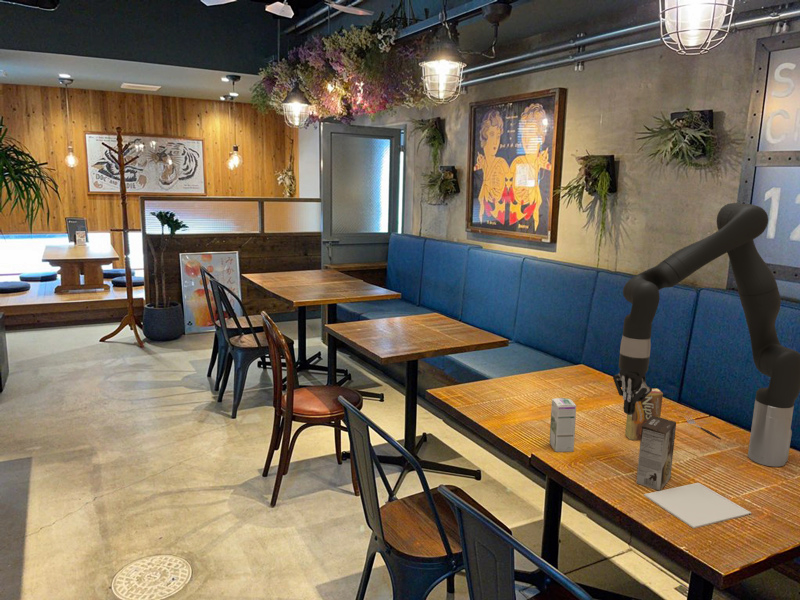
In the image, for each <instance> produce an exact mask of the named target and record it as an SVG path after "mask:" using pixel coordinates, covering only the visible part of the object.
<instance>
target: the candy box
mask: <svg viewBox="0 0 800 600" xmlns="http://www.w3.org/2000/svg"><path fill="white" fill-rule="evenodd" d="M633 395H634V394H633ZM663 395H664V393H663V392H662V391H661V389H659V388H652V391H651V392H650V393H649V394H648V395H647V396H646V397H645V398H644V399H643V400H642V401H639V402H636V404H635V412H634V413H633V414H631V415H628V414H626V422H625V429H624V430H625V432H624V434H625V437H627V438H628V439H629V440H630V441H634V440H635V441H641V430H642V425H643V424H644V423H645V422H647V420H648V419H649V418H651V417H652V416H655V417H660V418H661V414H662V405H663V404H662V403H663V398H664V396H663Z"/></svg>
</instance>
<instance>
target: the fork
mask: <svg viewBox="0 0 800 600" xmlns="http://www.w3.org/2000/svg"><path fill="white" fill-rule="evenodd" d="M684 418H685V420H686V421H687V423H688V424H689V425H691V424H696V421H695V420H694V419H693V417H692V415H691V414H690V415H686V416H684ZM695 427H697V428H699V429H700V430H702V431H703V432H705V433H706V434H708V435H711V436H712V437H715V438H716V439H718V440H722V438H721V437H719V436H717V435H716V434H715V433H713V432H712V431H710V430H709V429H706V428H703V427H702V426H699V424H698V425H695Z"/></svg>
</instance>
